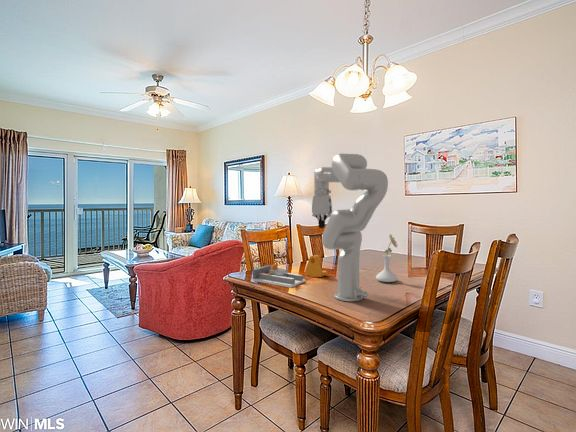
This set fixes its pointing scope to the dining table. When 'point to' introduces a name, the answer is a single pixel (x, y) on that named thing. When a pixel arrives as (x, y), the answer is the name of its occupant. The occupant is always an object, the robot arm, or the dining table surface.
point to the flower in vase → (387, 266)
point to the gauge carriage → (278, 271)
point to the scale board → (276, 277)
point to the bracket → (315, 267)
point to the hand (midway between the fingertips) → (321, 227)
